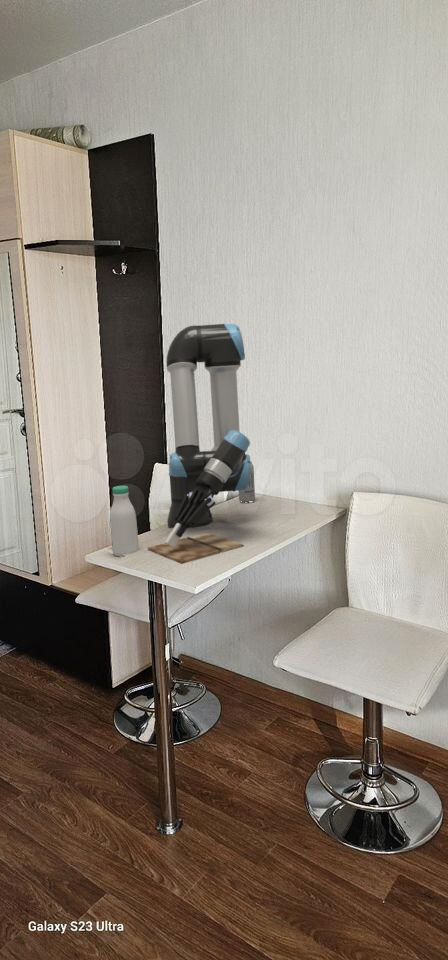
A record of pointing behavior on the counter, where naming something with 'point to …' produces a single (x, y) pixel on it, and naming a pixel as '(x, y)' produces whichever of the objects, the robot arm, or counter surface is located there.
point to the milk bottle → (123, 523)
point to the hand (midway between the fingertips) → (169, 544)
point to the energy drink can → (248, 488)
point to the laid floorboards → (216, 542)
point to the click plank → (184, 551)
